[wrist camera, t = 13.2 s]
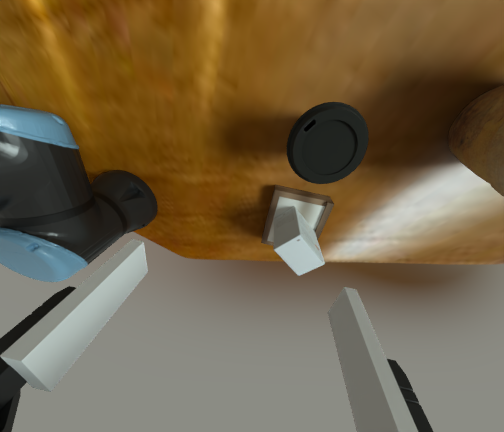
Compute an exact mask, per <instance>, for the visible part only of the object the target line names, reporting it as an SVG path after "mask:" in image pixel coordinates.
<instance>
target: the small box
mask: <svg viewBox="0 0 504 432" xmlns="http://www.w3.org/2000/svg"><path fill="white" fill-rule="evenodd" d="M274 251H275V252H276V253H277V254H278V255H279V256H280V257H281V258H282V259H283V260H284V261H285V262H286V263H287V264H288V265H289V266H290V267H291V269H292V270H293V271H294V272H295V273H296V274H297V275H298V276H299V275H302V274H304V273H306V272H308V271H311V270H313V269H315V268H317V267H320V266H322V265H324V264H325V262H324V259H323V256H322V253H321V250H320V247H319V244H318V240H317V237H316V234H315V231H314V230H313V229H312V227H311V226H310V225H309V224H308V222H307V221H306V220H305V219H304V217H303V216H302V215H301V214H300V212H299V211H298V210H297V209H296V207H295V206H294V207H293V208H291V209H290V210H288V211H286V212H285V213H283V214H282V215H280V216H279V217H277V218H275V219H274Z"/></svg>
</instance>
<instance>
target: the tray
mask: <svg viewBox="0 0 504 432" xmlns="http://www.w3.org/2000/svg"><path fill="white" fill-rule="evenodd" d="M333 205H334V203H333V201H332V200H331V198H330V197H329V196H325V195H320V194H315V193H311V192H306V191H302V190H297V189H292V188H288V187H283V186H279V185H275V189H274V193H273V197H272V200H271V204H270V208H269V212H268V216H267V220H266V223H265V227H264V231H263V235H262V242H261V243H264V244H269V245H273V246H274V219H275V218H277V217H279V216H280V215H282V214H283V213H285V212H286V211H288V210H290V209H291V208H293V207H294V206H295V207H296V209H297V210H298V211H299V212H300V214H301V215H302V216H303V217H304V219H305V220H306V221H307V222H308V224H309V225H310V226H311V227H312V229H313V230H314V231H315V234H316V237H317V240H318V238H319V236H320V234H321V232H322V230H323V227H324V225H325V223H326V221H327V219H328V216H329V214H330V212H331V210H332V208H333Z"/></svg>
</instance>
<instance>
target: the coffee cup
mask: <svg viewBox="0 0 504 432" xmlns="http://www.w3.org/2000/svg"><path fill="white" fill-rule="evenodd" d="M367 145H368V129H367V125H366V122H365V120H364V118H363V116H362V115H361V114H360V113H359V112H358V111H357V110H356V109H354V108H353V107H351V106H350V105H347V104H344V103H340V102H328V103H323V104H320V105H317V106H315V107H313V108H311V109H310V110H308V111H307V112H305V113H304V114H303V115H302V116H301V117H300V118H299V119H298V120H297V122H296V123H295V124H294V126H293V128H292V130H291V132H290V134H289V137H288V141H287V157H288V161H289V164H290V166H291V168H292V169H293V171H294V172H295V173H296V174H297V175H298V176H299V177H301V178H302V179H304V180H306V181H308V182H311V183H316V184H328V183H332V182H335V181H338V180H340V179H343V178H344V177H346V176H348V175H349V174H350V173H351V172H353V171H354V170H355V169H356V168H357V166H358V165H359V164H360V162H361V161H362V159H363V157H364V155H365V152H366V149H367Z"/></svg>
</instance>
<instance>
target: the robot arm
mask: <svg viewBox="0 0 504 432" xmlns="http://www.w3.org/2000/svg"><path fill="white" fill-rule="evenodd" d="M78 149H79V147H78V145H76V143H75V140H74V138H73V136H72V133H71V131H70V128H69V126H68V124H67V123H66V122H65V121H64V120H63V119H62V118H61V117H59V116H57V115H55V114H53V113H50V112H45V111H40V110H35V109H29V108H23V107H16V106H10V105H3V104H0V263H1V264H2V265H4V266H6V267H8V268H9V269H11V270H13V271H15V272H17V273H19V274H22V275H24V276H27V277H29V278H33V279H36V280H40V281H46V282H58V281H62V280H65V279H67V278H69V277H71V276H72V275H74V274H75V273H76V272H78V271H79V270H80V269H82V268H85V267H86V266H87V265H88V264H89V263H90V262H92V261H93V260H94V259H95V258H96V257H98V256H99V255H100V254H101V253H102V252H104V251H105V250H106V249H107V248H108V247H110V246H111V245H112V244H113V243H114V242H115V241H117V240H118V239H119V238H120V237H122V236H123V235H124V234H126V233H129V232H132V231H135V230H137V229H141V228H143V227H145V226H147V225H148V224H149V223H150V222H151V221H153V219H154V218H155V217H156V214H157V202H156V199H155V196H154V194H153V192H152V191H151V189H150V188H149V187H148V186H147V184H146V183H145V182H143V181H142V180H141V179H140V178H138V177H137V176H135V175H133V174H131V173H129V172H126V171H121V170H113V171H109V172H106V173H103V174H101V175H99V176H98V177H97V178H96V179H95V180H94V181H93V182H92V183H91V184H90V183H89V180H88V177H87V174H86V171H85V168H84V165H83V162H82V159H81V156H80V153H79V150H78ZM147 272H148V269H147V263H146V255H145V248H144V242H142V241H138V240H133V239H132V240H131V241H129V242H128V243H127V244H126V245H125V246H124V247H123V248H121V249H120V250H119V251H118V252H117V253H116V254H115V255H114V256H112V257H111V258H110V259H109V260H108V261H107V262H106V263H104V264H103V265H102V266H101V267H100V268H99V269H98V270H97V271H95V272H94V273H93V274H92V275H91V276H90V277H89V278H88V279H87V280H85V281H84V282H83V283H82V284H81V285H80V286H78V288H75V287H70V286H69V287H67V288H65V289H63V290H61V291H59V292H57V293H56V294H54V295H53V296H52V297H51V298H49V299H48V300H47V301H46V302H44V303H43V305H42V306H40V307H38V308H37V309H36V310H35V311H33V312H32V314H31V315H29V316H27V317H26V318H25V319H24V320H22V321H21V322H20V323H19V324H18V325H16V326H15V327H14V328H13V329H12V330H10V331H9V332H8V333H7V334H5V335H4V336H3V337H2V338H1V339H0V432H11V431H12V427H13V423H14V418H15V415H16V411H17V407H18V403H19V398H20V389H21V388H22V387H23V386H24V385H25V383H26V382H27V383H28V384H29V385H31V386H32V387H33V388H36V389H40V390H45V391H49V392H51V391H52V390H53V388H54V387H55V386H56V385H57V383H58V382H59V381H60V380H61V378H62V377H63V376H64V375H65V374H66V372H67V371H68V370H69V369H70V367H71V366H72V365H73V363H74V362H75V361H76V360H77V359H78V357H79V356H80V355H81V354H82V353H83V351H84V350H85V349H86V348H87V346H88V345H89V344H90V343H91V341H92V340H93V339H94V338H95V336H96V335H97V334H98V333H99V332H100V330H101V329H102V328H103V326H104V325H105V324H106V323H107V322H108V320H109V319H110V318H111V317H112V315H113V314H114V313H115V312H116V310H117V309H118V308H119V307H120V305H121V304H122V303H123V302H124V300H125V299H126V298H127V297H128V296H129V294H130V293H131V292H132V291H133V289H134V288H135V287H136V286H137V284H138V283H139V282H140V281H141V279H142V278H143V277H144V276H145V275H146V273H147ZM328 315H329V320H330V324H331V328H332V332H333V336H334V340H335V343H336V348H337V352H338V356H339V360H340V364H341V368H342V372H343V377H344V381H345V385H346V389H347V393H348V397H349V401H350V405H351V409H352V413H353V417H354V422H355V425H356V430H357V432H433V430H432V428H431V426H430V424H429V422H428V420H427V418H426V416H425V414H424V412H423V409H422V407H421V406H420V405H419V401H418V399H417V398H416V395H415V393H414V392H413V389H412V387H411V384H410V382H409V380H408V378H407V376H406V374H405V373H404V372H403V370H402V369H401V368H400V366H399V365H398V364H397V362H396V361H394V360H390V359H386V357H385V354H384V352H383V350H382V347H381V345H380V343H379V340H378V338H377V336H376V334H375V331H374V329H373V327H372V324H371V322H370V320H369V317H368V315H367V313H366V311H365V308H364V306H363V304H362V301H361V299H360V297H359V294H358V292H357V290H356V289H351V288H347V287H344V288H343V290H342V291H341V293H340V295H339V296H338V298H337V299H336V301H335V302H334V304H333V306H332V307H331V308H330V310H329V311H328Z"/></svg>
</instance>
